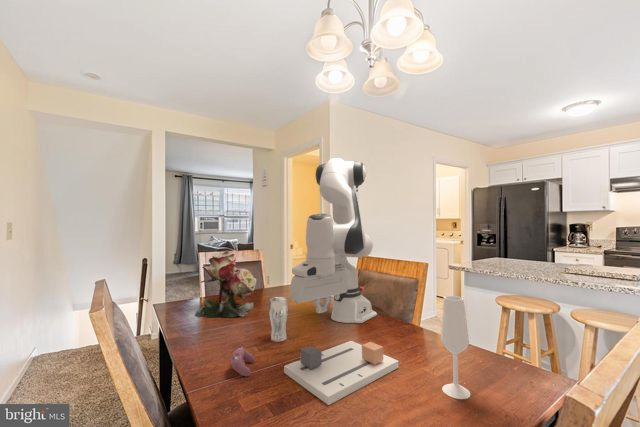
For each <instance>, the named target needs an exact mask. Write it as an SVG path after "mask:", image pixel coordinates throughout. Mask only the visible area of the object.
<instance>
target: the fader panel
mask: <svg viewBox="0 0 640 427" xmlns="http://www.w3.org/2000/svg"><path fill="white" fill-rule="evenodd" d="M362 345H363V344H361V343H358V342H356V341H353V340H349V341H346V342H344V343H341V344H338V345H336V346H334V347H331V348H328V349H325V350H323V351H322V350H321V354H322V365H320V366H317V367H315V368H313V369H310V368H308V367H306V366H305V365H303V364H302V363H301V359H299V360H296V361H292V362H290V363H288V364H286V365H283V366H284V367H283V374H285V375H286V376H288V377H289V378H291V379H292V380H294V382H296V383H297V384H299V385H301V387H303V388H304V389H305V390H307V391H308V392H309V393H311V394H312V395H314V396H315V397H317V398H318V399H319V400H321V401H322V402H323V403H324V404H326V405H327V406H330V405H331V404H334V403H336V402H337V401H339V400H341V399H342V398H345V397H346V396H349V395H350V394H352V393H354V392H356V391H358V390H360V389H362V388H364V387H365V386H368V385H369V384H371V383H373V382H375V381H376V380H378V379H380V378H382V377H384V376H386V375H388V374H389V373H391V372H393V371H395V370H397V369H398V368H399V367H400V366H399V362H400V361H399V359H398V360H397V359H395V358H393V357H391V356H388V355H386V354H384V353H383V361H381V362H379V363H377V364H372V363H370V362H368V361H366V360H364V359H362Z"/></svg>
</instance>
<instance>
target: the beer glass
mask: <svg viewBox="0 0 640 427" xmlns="http://www.w3.org/2000/svg"><path fill="white" fill-rule="evenodd" d="M268 309H269V311H268V312H269V319H270V325H271V326H270V327H271V334H270V341H272V342H278V343H279V342H283V341H285V340H287V338H288V336H287V328H286V327H287V320H288V309H289V306H288V297H285V296H274V297H271V298H269V308H268Z"/></svg>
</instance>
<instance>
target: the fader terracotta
mask: <svg viewBox="0 0 640 427" xmlns="http://www.w3.org/2000/svg"><path fill="white" fill-rule="evenodd" d="M361 345H362V359H364V360H366V361H368V362H370V363H372V364H377V363H379V362H381V361H383V354H384V346H382V345H379V344H376V343H375V342H373V341H369V342H366V343H363V344H361Z"/></svg>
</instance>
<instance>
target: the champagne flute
mask: <svg viewBox="0 0 640 427" xmlns="http://www.w3.org/2000/svg"><path fill="white" fill-rule="evenodd" d="M442 302H443V305H442V315H441V316H442V317H441V327H440V328H441V330H440V341H441V343H442V345H443V346H444V347H445V348H446V349H447V350H448V351H449V352H450V353H451V354H452V378H453V379H452V383H448V384H444V385H443V386H442V388H441V389H442V392H443V393H444V394H445V395H447V396H449V397H450V398H453V399H456V400H457V399H458V400H466V399H469V398H470V396H471V391H470V390H468V388H466V387H464V386H462V385H461V384H459V361H458V360H459V358H458V355H459V354H461V353H462V352H464V351H465V350H466V349H468V348H469V347H468V346H469V345H470V338H469V330H468V323H467V317H466V307H465V300H464V298H463V297H461V296H457V295H445V296H443V301H442Z"/></svg>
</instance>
